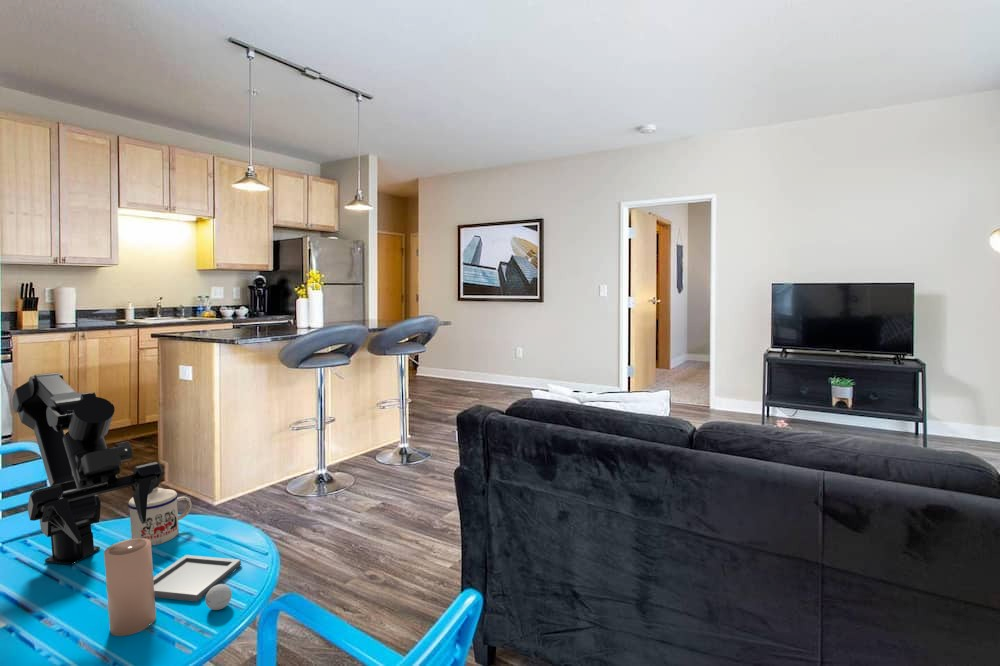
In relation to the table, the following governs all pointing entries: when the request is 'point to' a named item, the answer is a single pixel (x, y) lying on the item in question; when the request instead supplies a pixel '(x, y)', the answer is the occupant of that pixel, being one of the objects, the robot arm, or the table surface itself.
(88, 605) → the table surface
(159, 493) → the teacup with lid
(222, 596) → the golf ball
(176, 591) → the charcoal tray
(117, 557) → the terracotta cup
